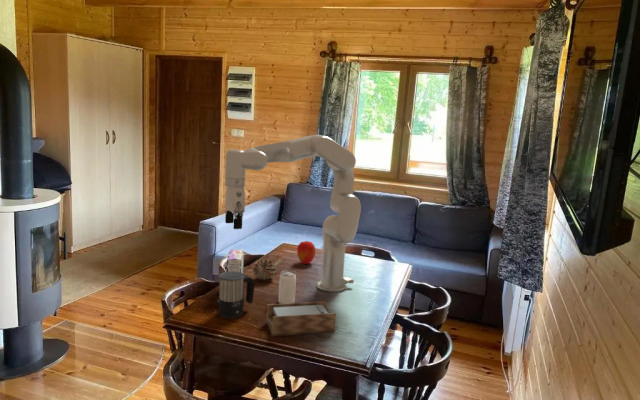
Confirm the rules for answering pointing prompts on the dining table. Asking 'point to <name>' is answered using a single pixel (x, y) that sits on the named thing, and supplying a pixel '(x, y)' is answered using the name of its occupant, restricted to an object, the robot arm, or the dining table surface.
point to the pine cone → (265, 268)
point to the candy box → (235, 260)
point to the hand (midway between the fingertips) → (233, 225)
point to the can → (287, 287)
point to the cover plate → (299, 310)
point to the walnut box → (300, 321)
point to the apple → (306, 252)
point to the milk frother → (234, 293)
